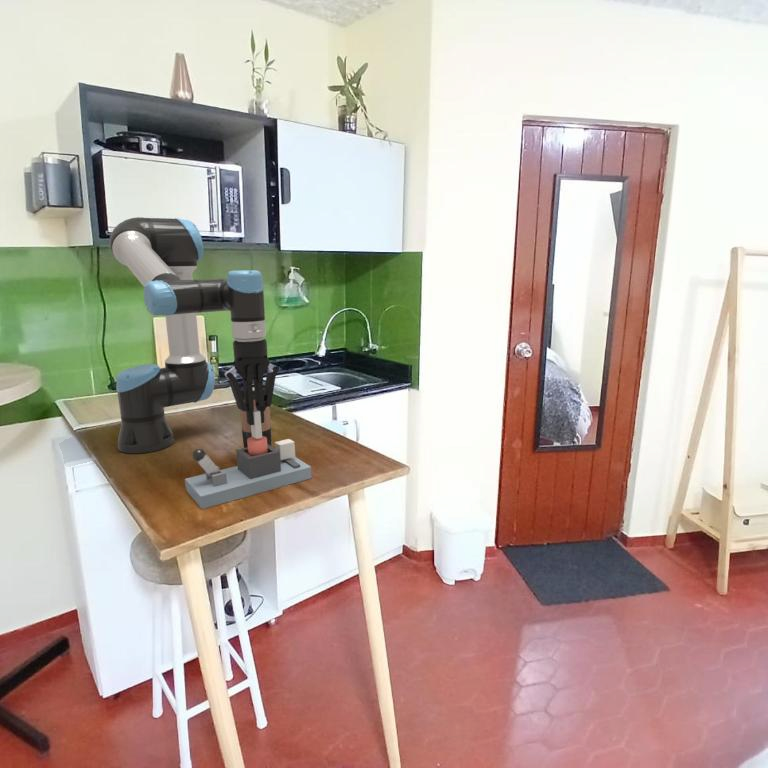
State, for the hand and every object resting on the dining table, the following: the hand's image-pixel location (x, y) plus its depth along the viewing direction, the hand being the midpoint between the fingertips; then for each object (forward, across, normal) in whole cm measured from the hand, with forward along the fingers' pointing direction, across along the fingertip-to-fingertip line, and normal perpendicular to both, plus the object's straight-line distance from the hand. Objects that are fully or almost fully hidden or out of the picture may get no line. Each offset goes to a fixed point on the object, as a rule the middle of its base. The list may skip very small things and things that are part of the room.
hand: (256, 436), depth 124 cm
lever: (+7, -10, 0) cm, 13 cm away
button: (+6, 0, 0) cm, 6 cm away
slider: (+8, +8, +2) cm, 11 cm away
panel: (+12, -2, 0) cm, 12 cm away
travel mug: (+12, +6, +15) cm, 20 cm away
